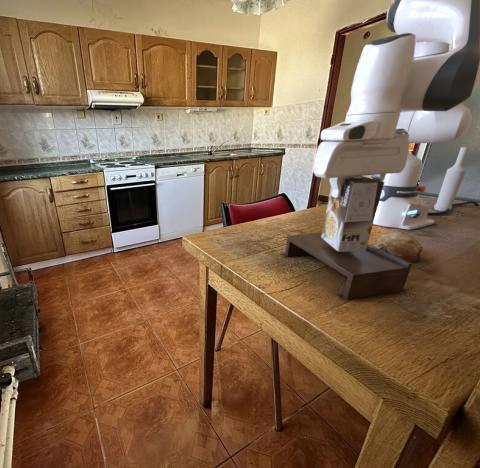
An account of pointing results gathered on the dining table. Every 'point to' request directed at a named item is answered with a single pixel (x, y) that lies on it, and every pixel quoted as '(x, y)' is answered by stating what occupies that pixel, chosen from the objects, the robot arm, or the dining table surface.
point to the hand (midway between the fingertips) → (353, 195)
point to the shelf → (355, 265)
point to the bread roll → (400, 246)
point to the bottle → (451, 183)
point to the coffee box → (352, 214)
